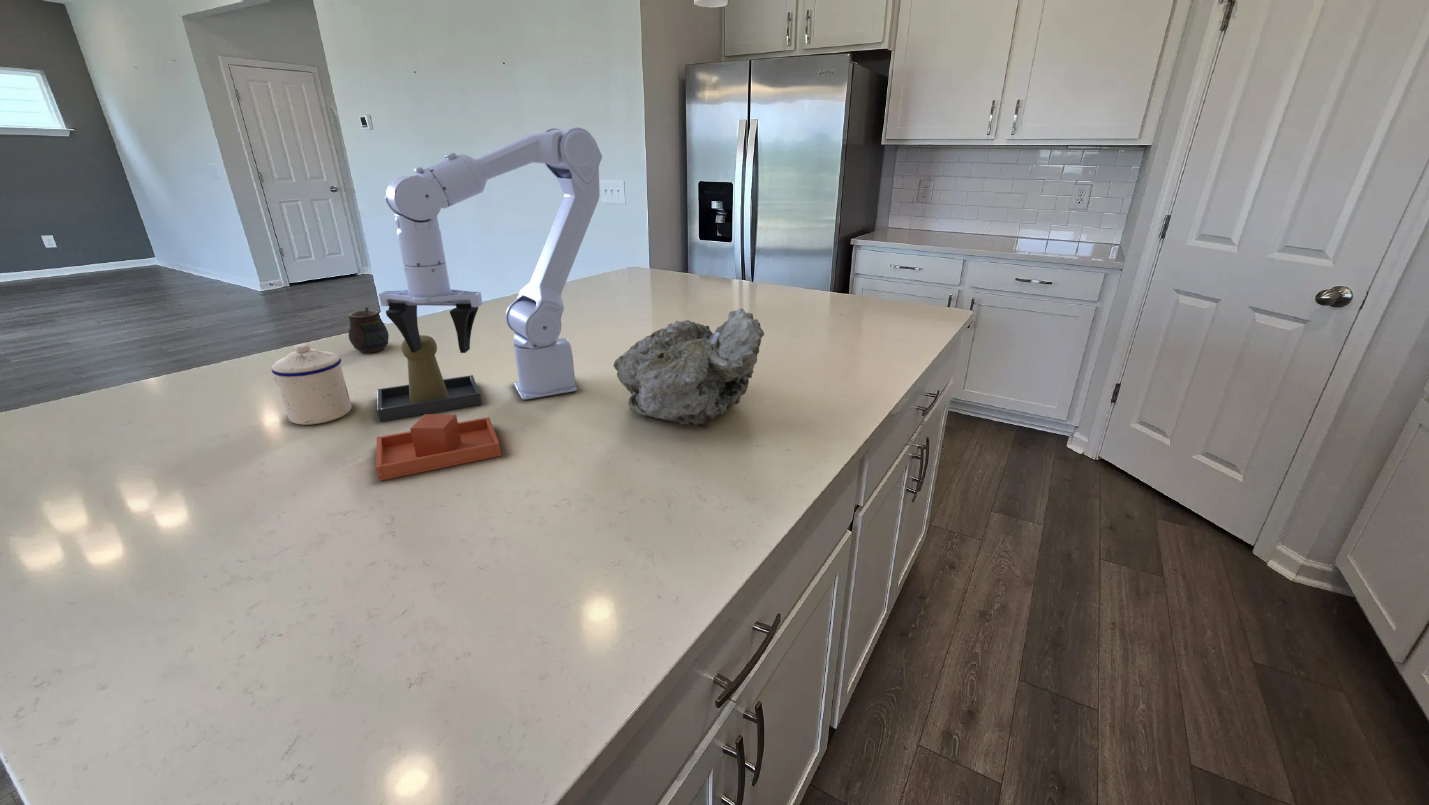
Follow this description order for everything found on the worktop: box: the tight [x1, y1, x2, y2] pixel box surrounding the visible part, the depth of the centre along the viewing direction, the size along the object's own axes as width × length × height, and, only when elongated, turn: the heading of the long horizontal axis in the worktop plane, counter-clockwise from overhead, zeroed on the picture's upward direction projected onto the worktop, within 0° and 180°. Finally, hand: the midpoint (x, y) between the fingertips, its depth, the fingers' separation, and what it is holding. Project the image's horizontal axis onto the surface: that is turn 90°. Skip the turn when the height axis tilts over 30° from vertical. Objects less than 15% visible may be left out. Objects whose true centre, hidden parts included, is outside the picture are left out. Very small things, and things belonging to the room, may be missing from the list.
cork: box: [400, 334, 449, 403], centre depth 97 cm, size 6×6×11 cm
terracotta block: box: [409, 413, 461, 457], centre depth 82 cm, size 4×4×4 cm
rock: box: [613, 307, 765, 426], centre depth 93 cm, size 24×17×25 cm
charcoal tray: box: [376, 374, 483, 422], centre depth 99 cm, size 15×10×2 cm, turn 118°
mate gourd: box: [348, 306, 390, 354], centre depth 122 cm, size 7×8×10 cm
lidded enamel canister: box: [271, 343, 352, 426], centre depth 92 cm, size 12×9×12 cm
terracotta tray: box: [375, 416, 502, 482], centre depth 82 cm, size 15×10×2 cm, turn 118°
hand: (440, 350), depth 92 cm, fingers open, 7 cm apart
